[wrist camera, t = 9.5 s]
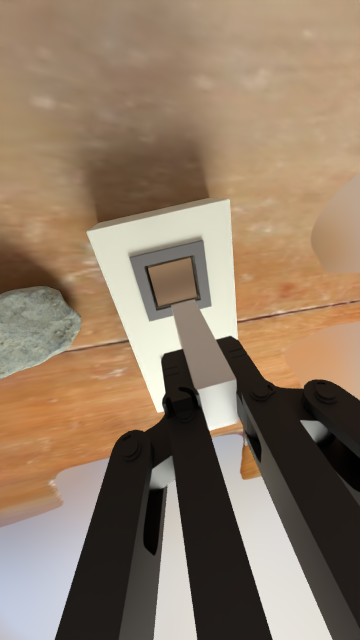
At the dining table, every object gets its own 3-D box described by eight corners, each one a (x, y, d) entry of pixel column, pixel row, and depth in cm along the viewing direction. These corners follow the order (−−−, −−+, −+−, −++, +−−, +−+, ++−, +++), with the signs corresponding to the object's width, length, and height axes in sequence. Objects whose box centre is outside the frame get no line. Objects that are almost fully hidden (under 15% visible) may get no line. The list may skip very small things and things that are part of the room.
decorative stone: (-38, 348, 27) (-21, 415, 23) (-122, 282, 19) (-120, 368, 14) (67, 306, 33) (97, 353, 29) (40, 242, 25) (76, 294, 20)
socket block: (98, 222, 23) (85, 232, 17) (209, 197, 23) (231, 198, 18) (155, 380, 35) (157, 415, 30) (226, 362, 36) (241, 393, 30)
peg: (146, 252, 25) (147, 268, 20) (180, 244, 25) (190, 257, 20) (154, 284, 27) (158, 306, 22) (186, 277, 27) (197, 296, 22)
